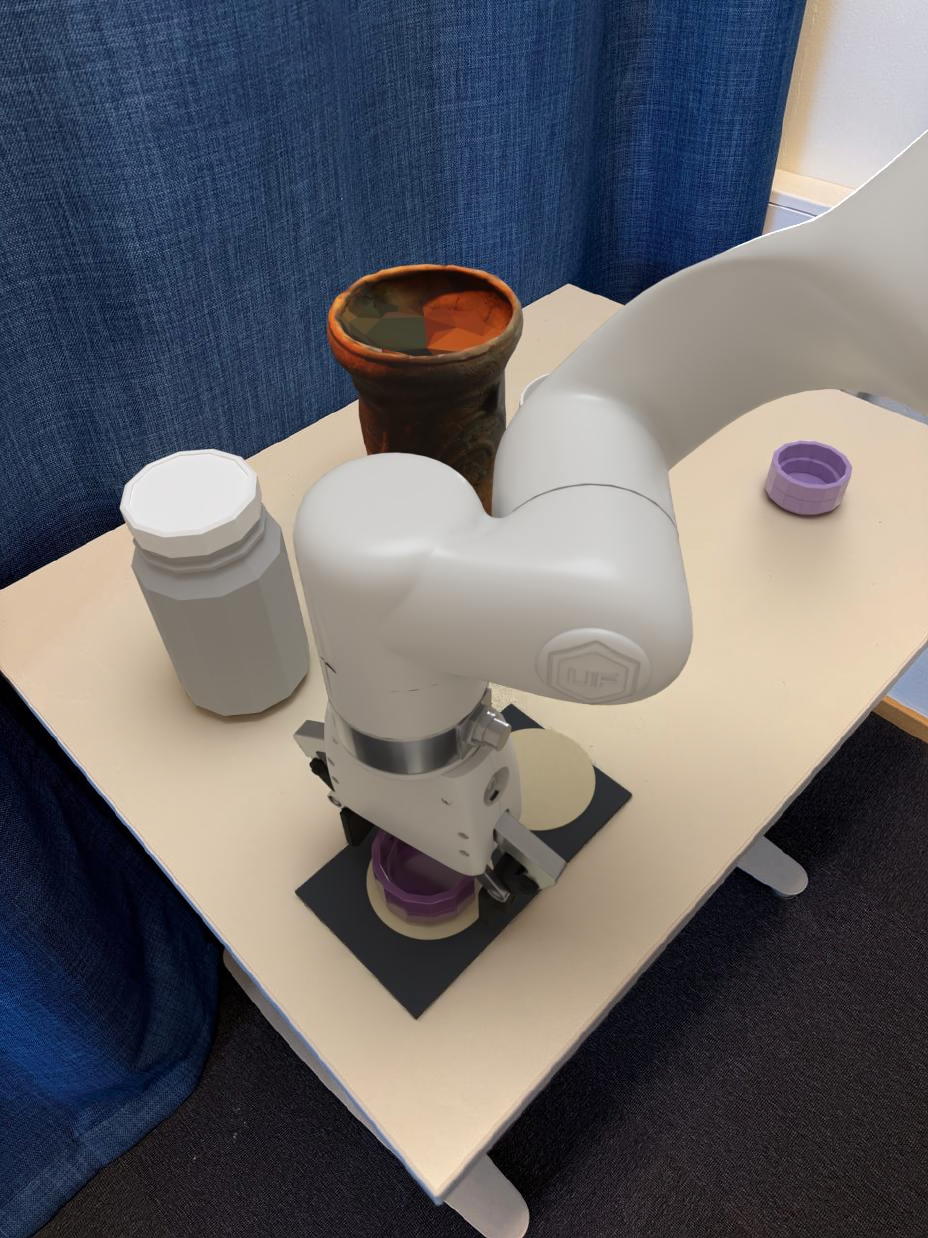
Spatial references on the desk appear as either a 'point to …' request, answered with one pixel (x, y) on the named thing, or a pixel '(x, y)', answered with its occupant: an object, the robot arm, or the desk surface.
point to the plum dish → (419, 882)
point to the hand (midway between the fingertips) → (430, 865)
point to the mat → (437, 954)
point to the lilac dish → (808, 477)
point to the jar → (217, 580)
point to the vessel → (430, 363)
